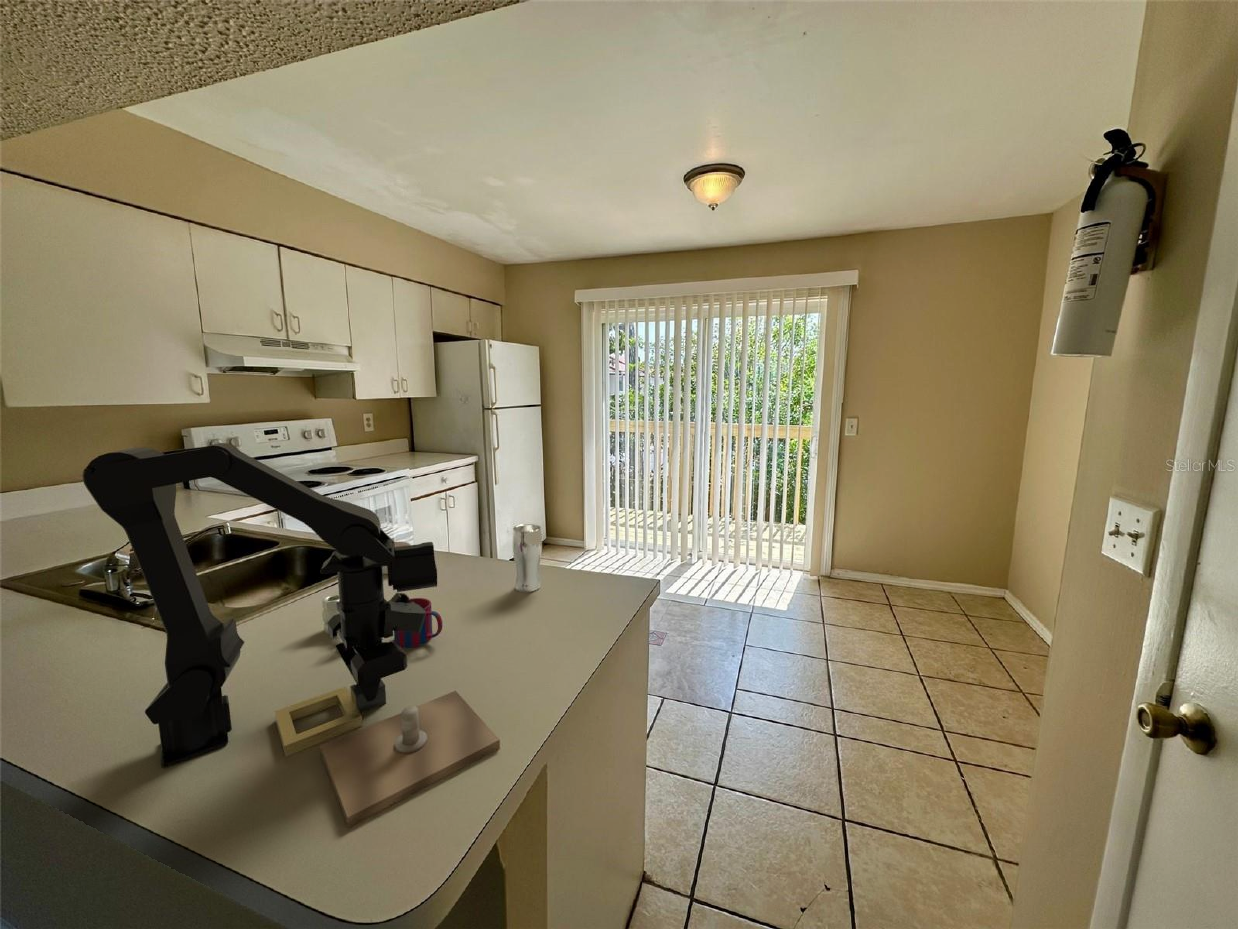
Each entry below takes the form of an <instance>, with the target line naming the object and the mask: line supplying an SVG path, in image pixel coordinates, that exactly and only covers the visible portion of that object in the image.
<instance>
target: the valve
mask: <svg viewBox="0 0 1238 929" xmlns="http://www.w3.org/2000/svg"><path fill="white" fill-rule="evenodd" d="M337 602H339V594H331V595H328V596H326V597H324V598H323V599H322V601H321V604H322V609H323V610H322V613H321V619H322V621H323V631H324V632H325V633H326V634H328V621H329V620H330V619H331V618H332V617H333V616H334V615H337V614H340V613H339V612H338V610H337V604H336V603H337ZM338 633H339V632H338V631H337V634H338Z"/></svg>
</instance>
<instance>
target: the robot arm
mask: <svg viewBox="0 0 1238 929" xmlns="http://www.w3.org/2000/svg"><path fill="white" fill-rule="evenodd" d="M82 472H83V473H82V481H83V485H84V486H85V488H86V489H87V491H88V493H89V494H90V495H91V497H92V498H93V500H94V501H95V503H96V505H97V506H98V507H99V508H100V510H101V511H102V512H104V514H106V515H107V516H108V517H109V518H111V519H112V520H113V521H114V522H115V523H116V524H118V525H119V526H120V527H122V529H123V531H125V534H126V536H127V539H128V541H129V544H130V546H131V549H132V551H133V554H134V556H135V558H136V561H137V564H138V567H139V568H140V571H141V573H142V576H143V578H144V581H145V584H146V586H147V588H148V590H149V591H148V592H149V593H150V596H151V599H152V602H153V603H154V606H155V608H156V610H157V614H158V616H159V618H160V621H161V622H162V626H163V628H164V630H165V634H166V645H165V654H164V655H165V658H164V668H165V674H166V681H167V682H166V683H165V684H164V686H163V687H162V688H161V690H160V691H159V692H158V694H156V696H155V697H154V698H153V700H152V701H151V702H150V703H149V705H148V706H147V708H146V709H145V710H144V713H145V715H146V716H147V718H148V720H149V721H151V723H152V724H153V725H158V732H159V733H158V734H159V741H160V746H161V748H160V749H161V754H160V756H161V757H160V766H161V768H166V767H169V766H172V765H174V764H177V763H180V762H184V761H185V760H189V759H191V758H194V757H197V756H199V755H201V754H205V753H207V752H210V751H213V750H215V749H219V748H221V747H223V746H226V745H227V744H229V735H228V733H230V732H231V731H232V729H233V728H232V720H231V712H230V711H231V709H230V702H229V696H228V695H226V694H225V695H223V691H222V687H223V685H224V684H225V682H226V681H227V679H228V678H229V676H230V674H231V673H232V671H233V669H234V667H235V666H236V664H237V662H238V660H239V659H240V655H241V652H242V651H241V649H242V647H243V646H244V644H245V641H244V639H242V638H241V636H240V635H239V632H238V630H237V629H238V626H237V622H236V620H235V619H234V618H232V619H229V620H227V621H224V622H222V621H221V620H220V619H218V618H217V617H216V616H215V615H213V613H212V611H211V609H210V606H209V604H208V601H207V599H206V595H205V593H204V590H203V587H202V585H201V583H200V580H199V577H198V575H197V572H196V569H195V567H194V563H193V562H192V561H193V560H192V558H191V556H190V553H189V550H188V547H187V545H186V542H185V539H184V537H183V534H182V532H181V530H180V527H179V523H178V522H177V519H176V513H175V509H176V501H177V499H176V497H177V484H181V483H186V482H191V481H196V480H201V479H207V478H208V479H209V478H212V479H215V480H217V481H219V482H221V483H223V484H226V485H227V486H229V487H231V488H233V489H235V490H238V491H239V492H241V493H243V494H245V495H247V496H250V497H251V498H253V499H255V500H258V501H259V502H261V503H263V504H265V505H267V506H269V507H272V508H274V509H275V510H277V511H280V512H281V513H283V514H285V515H288V516H289V517H292V518H294V519H296V520H298V521H299V522H301V523H302V524H304V525H305V526H307V527H308V528H309V529H310V530H312V531H313V533H315V534H316V535H317V536H318V537H319V538H320V539H321V540H322V541H323V542H325V543H326V544H327V545H329V546H330V547H331V548H333V549H334V551H333V552H332V554H331V556H330V557H329V558H328V559H326V560H325V561H324V562H323V564H322V566H321V568H320V574H323V575H326V574H332V573H337V583H338V584H337V585H338V595H339V602H337V603H336V604H337V610H338V612H339V613H340V614H337V615H334V616H333V617H332V618H331V619H330V620H329V621H328V633H327V634H328V635H329V636H330V639H331V640H336V639H337V637H339V639H340V640H341V642H340V643H337V644H336V645H335V649H336V651H337V653H338V654H339V656H340V657H341V659H342V661H343V663H344V664H345V666H346V668H347V670H348V671H349V674H350V675H351V676H352V677H353V680H354V681H355V683H356V684H357V685H358V687H359V688H360V690H361V691H362V693H363V695H364V696H365V698H366V700H367V701H368V702H369V701H372V700H375V699H376V696H377V692H378V688H379V684H380V681H381V680H382V679H383V678H386V677H389V676H391V675H395V674H398V673H401V672H403V671H405V670H406V669H407V668H408V658H407V656H408V655H407V653H406V652H405V651H404V649H403V647H400V646H399V645H398V644H396V643H395V642H394V641H389V642H388V641H383V638H384V639H388V638H392V637H394V631H405V632H413V633H420V632H421V628H422V625H423V622H424V619H425V615H426V611H425V610H424V609H423V608H422V607H421V606H420V605H418V604H415V603H414V602H411V603H410V601H409V599H410V597H409V596H408V595H407V593H405V592H406V591H407V592H409V591H416V590H422V589H430V588H436V587H437V586H438V568H437V564H436V560H435V559H436V558H435V546H434V542H432V541H426V542H421V543H419V544H410V545H409V546H399V547H395V542H396V541H394V540H393V539H392V538H391V537H390V536H389V535H388V534H387V533H386V532H385V531H384V530H383V529H382V528H381V527H382V526H381V520H380V518H379V516H378V515H377V514H376V513H375V512H374V511H373V510H371V509H369V508H366V507H363V506H360V505H357V504H355V503H351V502H349V501H344V500H340V499H335V498H331V497H329V496H325V495H322V494H321V493H319V492H317V491H315V490H313V489H311V488H310V487H308V486H306V485H304V484H302V483H301V482H299V481H297V480H295V479H293V478H292V477H289V476H288V475H285V474H283V473H282V472H280V471H278V470H276V469H275V468H272V467H270V466H269V465H267V464H265V463H263V462H261V461H259V460H257V459H255V458H254V457H251V456H250V455H248V454H246V453H244V452H242V450H239V448H238V447H236V446H235V445H234V444H231V443H229V442H228V443H227V442H218V443H212V444H210V445H205V446H200V447H199V446H198V447H190V448H180V449H174V450H166V451H159V450H157V449H154V448H153V447H152V448H151V447H146V446H140V447H139V446H138V447H137V446H136V447H130V448H129V447H128V448H124V449H121V450H117V451H112V452H108V453H105V454H104V453H103V454H101V455H98V456H97V457H95V458H93V459H92V460H90V461H89V463H88V465H87V466H86V467H85V468H84V469H83V471H82ZM382 566H387V570H388V574H387V584H388V587H392V591H396V592H395V594H394V595H393V596H392V597H391V598H390V599H389V600H388V601H387V599H385V590H384V589H385V588H384V574H383V570H382ZM337 631H338V632H339V633H337Z"/></svg>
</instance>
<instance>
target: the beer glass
mask: <svg viewBox="0 0 1238 929" xmlns="http://www.w3.org/2000/svg"><path fill="white" fill-rule="evenodd" d="M512 529H513V531H512V554H513V560H514V566H515V571H516V578H515V584H514V589H515V590H516V591H517V592H519V593H520V592H521V593H533V592H536V591H538V590H540V589H541V580H540V576H539V573H540V572H539V571H540V563H541V558H542V552H543V539H542V538H543V537H542V527H541V525H538V524H533V523H527V524H518V525H516V526H514V527H513V528H512ZM537 589H538V590H537ZM535 590H536V591H535ZM532 591H533V592H532Z"/></svg>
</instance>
